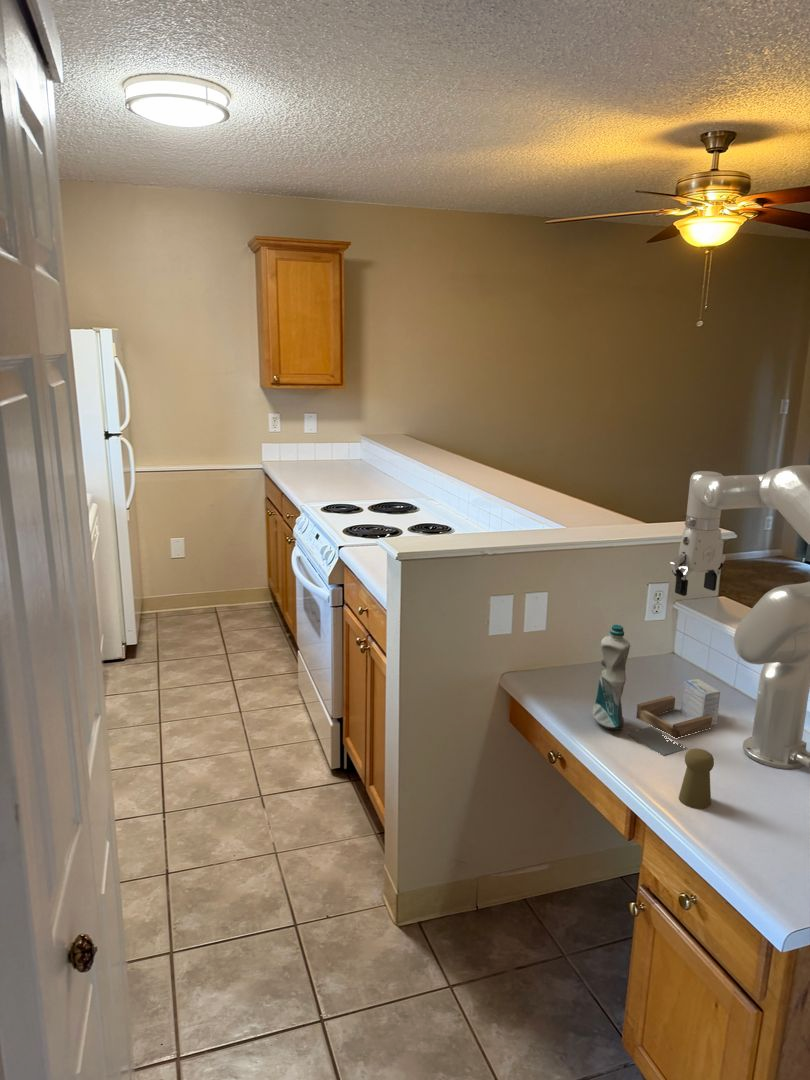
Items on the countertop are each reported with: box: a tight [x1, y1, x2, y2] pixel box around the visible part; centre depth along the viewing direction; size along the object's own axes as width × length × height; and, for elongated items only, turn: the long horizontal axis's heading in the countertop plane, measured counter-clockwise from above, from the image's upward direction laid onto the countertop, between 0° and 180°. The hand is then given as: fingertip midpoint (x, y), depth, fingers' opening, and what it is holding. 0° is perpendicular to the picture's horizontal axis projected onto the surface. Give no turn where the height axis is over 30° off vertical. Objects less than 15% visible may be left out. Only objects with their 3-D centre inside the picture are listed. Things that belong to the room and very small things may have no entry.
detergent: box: [591, 624, 631, 730], centre depth 173 cm, size 13×7×25 cm, turn 5°
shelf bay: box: [636, 695, 713, 738], centre depth 177 cm, size 12×11×4 cm
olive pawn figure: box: [678, 748, 715, 810], centre depth 144 cm, size 6×6×11 cm
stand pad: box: [627, 726, 687, 757], centre depth 168 cm, size 11×7×1 cm, turn 27°
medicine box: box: [680, 678, 721, 725], centre depth 179 cm, size 8×4×9 cm, turn 17°
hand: (695, 591), depth 184 cm, fingers open, 9 cm apart
